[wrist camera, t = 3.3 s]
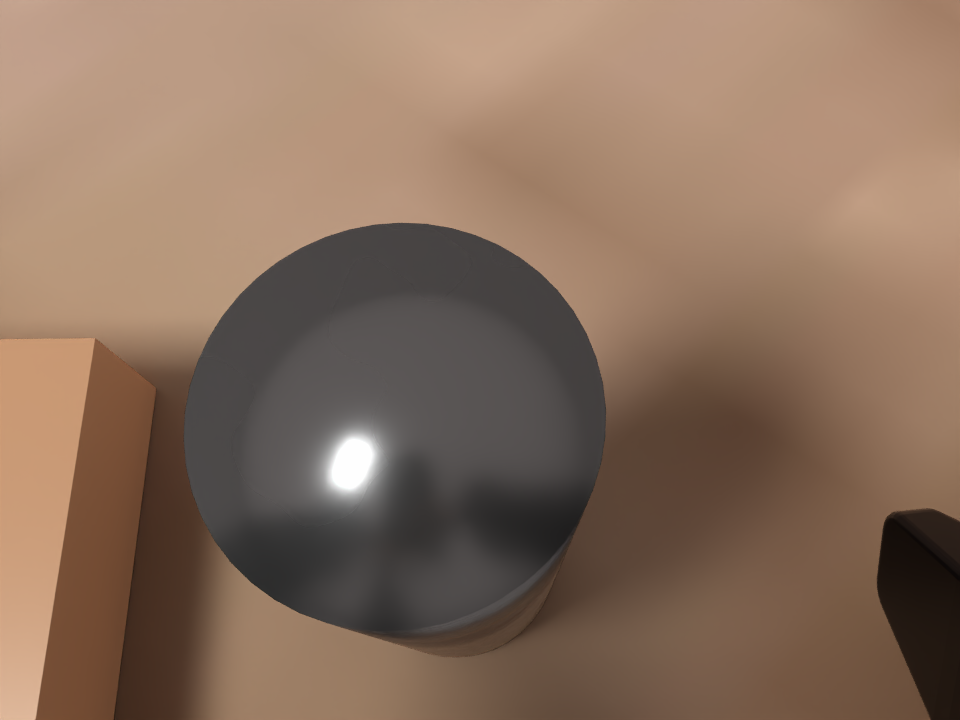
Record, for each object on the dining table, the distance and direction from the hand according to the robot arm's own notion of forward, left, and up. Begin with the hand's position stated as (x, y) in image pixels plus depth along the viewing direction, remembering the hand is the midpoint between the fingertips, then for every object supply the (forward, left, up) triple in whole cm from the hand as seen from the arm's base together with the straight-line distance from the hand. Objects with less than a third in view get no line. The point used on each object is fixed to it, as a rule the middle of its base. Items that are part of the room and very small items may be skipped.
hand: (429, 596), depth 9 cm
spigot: (+2, 0, -9) cm, 9 cm away
